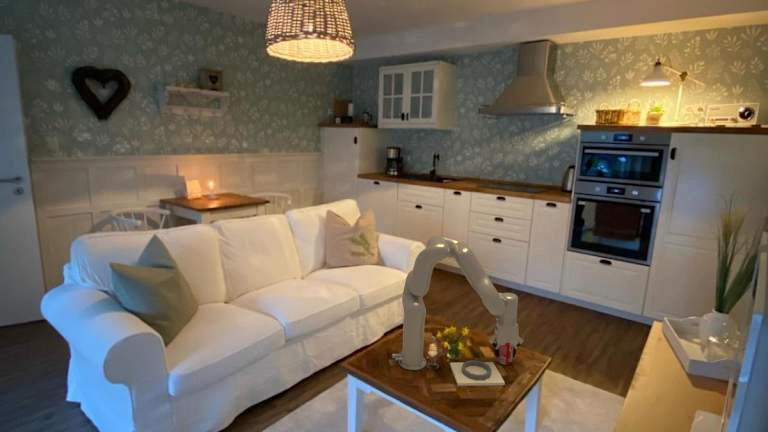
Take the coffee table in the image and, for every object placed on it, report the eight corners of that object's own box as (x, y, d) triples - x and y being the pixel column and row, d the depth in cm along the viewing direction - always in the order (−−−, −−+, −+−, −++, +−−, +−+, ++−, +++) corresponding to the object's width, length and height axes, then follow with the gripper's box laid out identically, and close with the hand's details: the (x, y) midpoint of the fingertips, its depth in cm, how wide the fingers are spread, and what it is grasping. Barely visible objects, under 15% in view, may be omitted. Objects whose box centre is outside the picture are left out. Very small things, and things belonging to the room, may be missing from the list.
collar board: (457, 385, 170) (458, 378, 170) (449, 364, 186) (450, 358, 185) (504, 385, 171) (505, 378, 171) (492, 364, 187) (493, 358, 186)
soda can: (510, 358, 192) (512, 335, 190) (513, 366, 186) (515, 342, 183) (495, 357, 193) (496, 334, 191) (497, 365, 186) (499, 341, 184)
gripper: (491, 323, 181) (488, 360, 185) (529, 323, 182) (526, 359, 186) (486, 316, 189) (484, 351, 192) (523, 316, 190) (520, 351, 193)
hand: (504, 355), depth 189 cm, fingers closed on soda can, 6 cm apart
